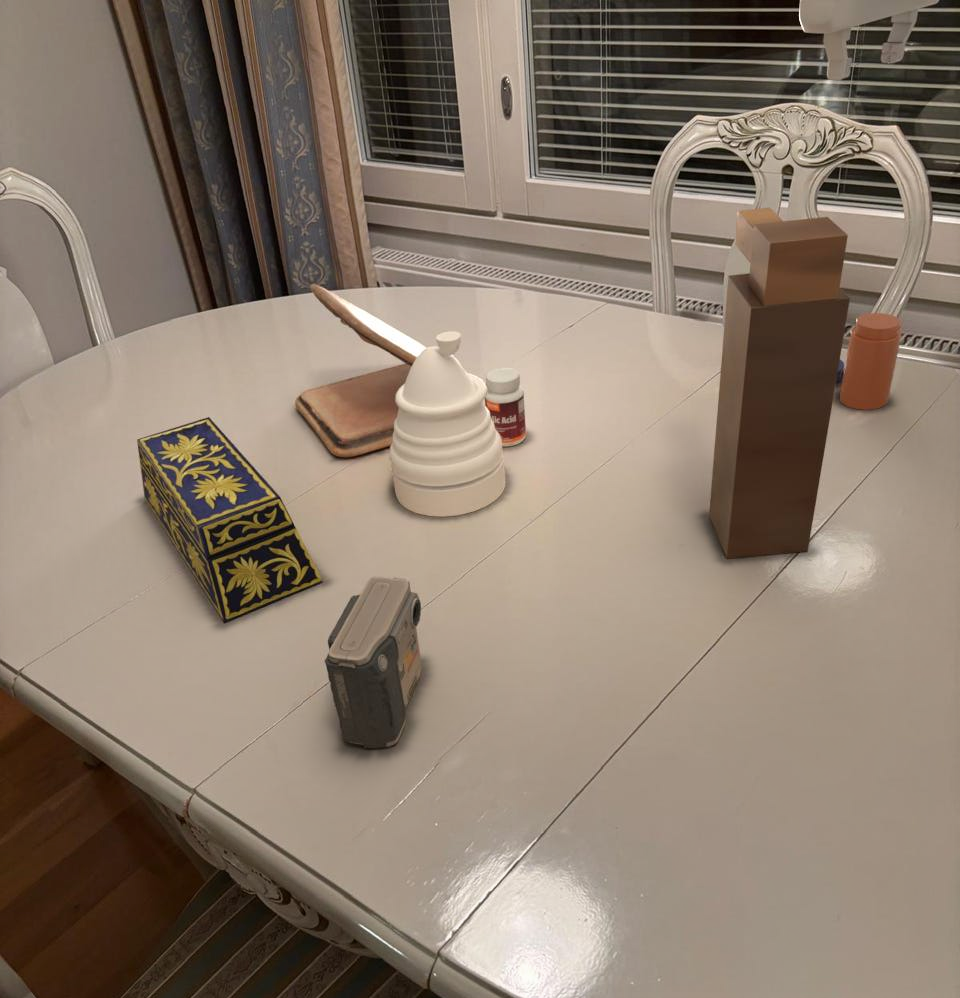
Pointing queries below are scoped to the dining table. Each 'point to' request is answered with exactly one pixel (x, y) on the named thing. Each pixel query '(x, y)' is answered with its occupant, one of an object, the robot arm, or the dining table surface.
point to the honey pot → (445, 437)
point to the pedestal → (772, 419)
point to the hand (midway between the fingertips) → (865, 70)
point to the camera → (375, 661)
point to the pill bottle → (506, 405)
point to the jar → (870, 361)
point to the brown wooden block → (791, 256)
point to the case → (359, 387)
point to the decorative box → (223, 519)
